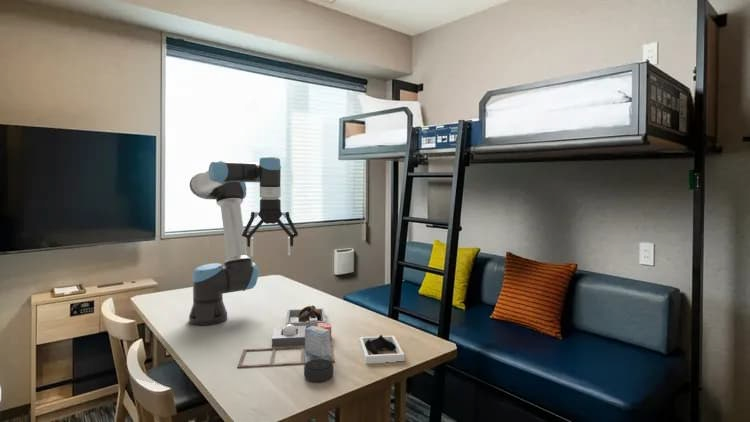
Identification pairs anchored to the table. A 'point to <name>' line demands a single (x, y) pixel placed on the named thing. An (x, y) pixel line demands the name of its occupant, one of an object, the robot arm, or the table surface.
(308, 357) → the wooden window frame
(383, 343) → the gaming controller
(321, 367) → the smart speaker
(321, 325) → the die
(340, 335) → the table surface
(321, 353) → the medicine box
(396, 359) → the controller tray rim
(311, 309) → the pottery mug
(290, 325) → the dome
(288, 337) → the grey square holed block
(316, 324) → the mug coaster rim
